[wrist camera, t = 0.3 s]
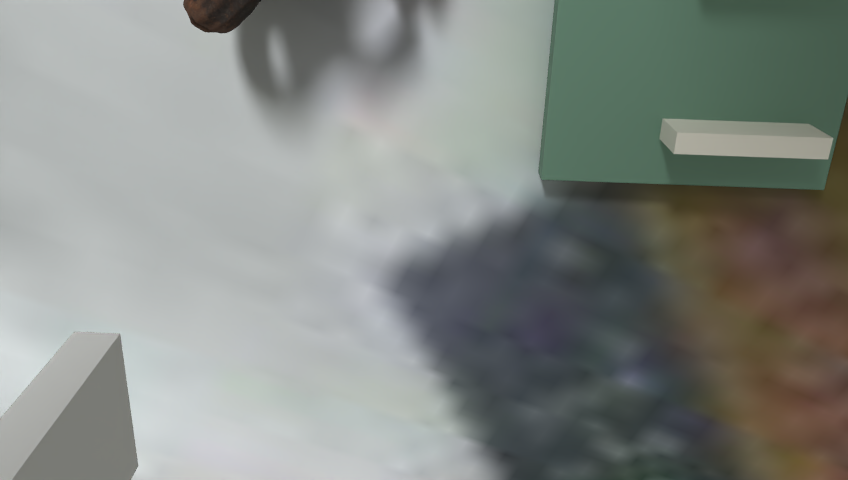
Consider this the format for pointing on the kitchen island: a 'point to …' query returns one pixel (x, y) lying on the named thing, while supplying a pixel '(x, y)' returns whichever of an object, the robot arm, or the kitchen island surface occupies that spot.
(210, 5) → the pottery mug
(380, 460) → the kitchen island surface
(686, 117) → the header board
